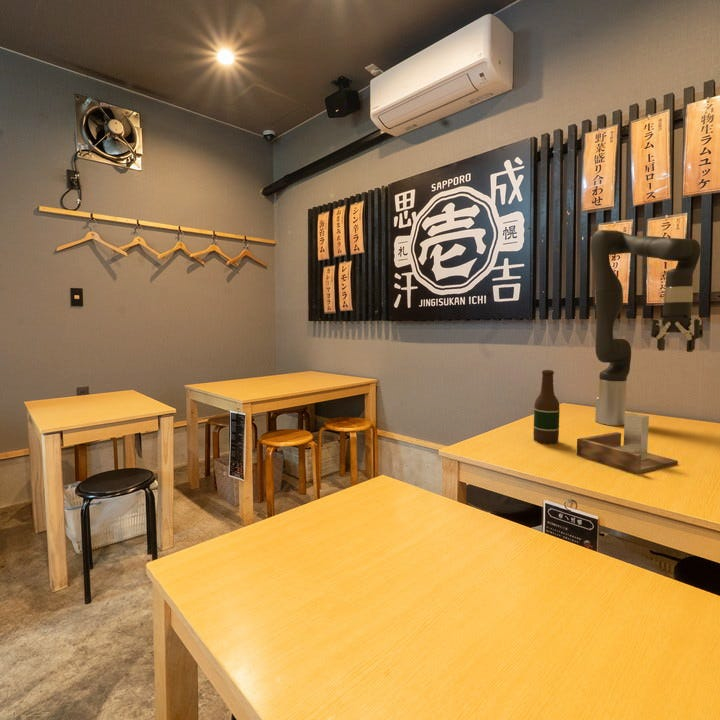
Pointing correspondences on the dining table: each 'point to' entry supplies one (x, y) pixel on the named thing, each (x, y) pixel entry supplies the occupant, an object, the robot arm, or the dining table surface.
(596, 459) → the board
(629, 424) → the bracket
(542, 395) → the beer bottle
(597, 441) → the walls
